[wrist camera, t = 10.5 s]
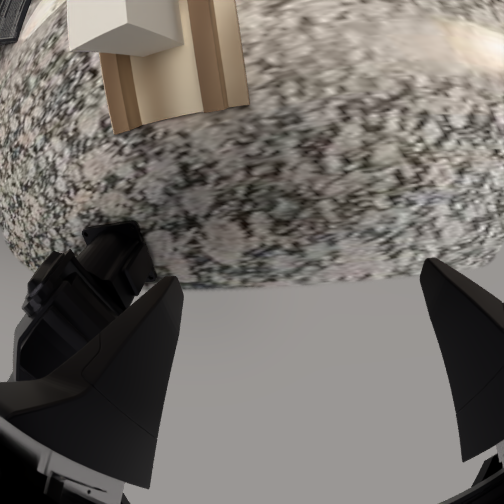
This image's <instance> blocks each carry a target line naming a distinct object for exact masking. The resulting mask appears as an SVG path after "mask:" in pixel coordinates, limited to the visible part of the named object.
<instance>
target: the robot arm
mask: <svg viewBox="0 0 504 504" xmlns="http://www.w3.org/2000/svg"><path fill="white" fill-rule="evenodd" d="M131 226H133V227H134V228H132V227H131ZM82 235H83V237H84V240H85V242H86V244H87V246H86V248H85V249H84V250H83V251H82V252H81V254H80V255H79V256H78V257H77V258H76V257H75V256H74V253H73V252H72V250H71V249H69V250H68V251H67V252H66V253H59V252H56V251H53V252H52V253H51V254H50V255H49V256H48V257H47V259H46V260H45V261H44V262H43V263H42V264H41V266H40V267H39V268H38V269H37V271H36V272H35V274H34V275H33V277H32V278H31V279H30V281H29V282H28V294H27V296H26V298H25V301H24V303H23V306H22V309H23V310H24V311H25V312H26V314H25V316H24V317H23V318H22V320H21V321H20V323H19V324H18V325H17V327H16V329H15V334H14V335H15V336H14V349H13V350H14V351H13V373H12V374H11V376H10V378H9V380H8V381H7V382H0V504H130V503H129V501H128V500H127V498H126V496H125V495H124V493H123V488H124V483H125V482H127V483H129V484H133V485H136V486H139V487H142V488H146V489H149V487H150V482H151V475H152V468H153V461H154V456H155V450H156V443H157V439H156V438H157V437H158V431H159V426H160V421H161V416H162V410H163V405H164V400H165V395H166V391H167V386H168V381H169V377H170V372H171V367H172V363H173V358H174V354H175V350H176V345H177V341H178V336H179V331H180V323H181V315H182V307H183V300H184V295H183V291H182V289H181V286H180V283H179V280H178V278H177V277H176V276H165V277H164V278H163V279H161V280H160V281H159V282H158V283H157V284H155V285H154V286H153V287H152V288H151V289H149V290H148V291H147V292H146V293H145V294H144V295H142V296H141V297H140V298H139V299H138V300H137V301H135V302H134V303H133V304H132V305H131V306H130V304H131V303H132V301H133V299H134V296H138V295H139V293H140V291H141V289H142V287H143V285H144V283H145V282H153V281H155V279H156V277H157V275H156V272H155V270H154V267H153V263H152V260H151V257H150V255H149V252H148V250H147V247H146V244H145V243H144V241H143V238H142V236H141V233H140V230H139V227H138V225H137V223H136V222H135V221H126V222H119V223H113V224H106V225H100V226H94V227H88V228H85V229H84V230H83V231H82ZM151 276H152V277H151ZM420 283H421V287H422V290H423V293H424V297H425V301H426V305H427V309H428V312H429V316H430V319H431V322H432V325H433V328H434V331H435V334H436V337H437V340H438V343H439V346H440V350H441V353H442V357H443V360H444V364H445V367H446V371H447V375H448V379H449V383H450V387H451V391H452V396H453V401H454V406H455V411H456V417H457V423H458V430H459V437H460V445H461V455H462V462H465V461H467V460H469V459H471V458H473V457H475V456H477V455H479V454H480V453H482V452H484V451H486V450H488V449H490V448H491V447H493V446H495V445H496V448H497V454H495V455H494V456H492V457H490V458H489V459H487V460H485V461H484V463H483V465H482V467H481V469H480V471H479V473H478V475H477V477H476V479H475V481H474V483H473V485H472V486H471V488H470V489H468V490H466V491H464V492H462V493H460V494H458V495H456V496H454V497H452V498H450V499H448V500H445V501H443V502H441V503H439V504H504V303H502V301H500V300H499V299H498V298H496V297H495V296H493V295H492V294H491V293H489V292H488V291H486V290H485V289H483V288H482V287H480V286H479V285H478V284H476V283H475V282H473V281H472V280H470V279H469V278H467V277H466V276H464V275H463V274H461V273H459V272H458V271H456V270H455V269H453V268H452V267H450V266H448V265H447V264H445V263H444V262H442V261H440V260H439V259H437V258H427V259H425V261H424V264H423V268H422V271H421V274H420Z"/></svg>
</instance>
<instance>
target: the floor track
mask: <svg viewBox="0 0 504 504" xmlns="http://www.w3.org/2000/svg"><path fill="white" fill-rule="evenodd" d="M179 6H180V14H181V21H182V29H183V36H184V43H185V45H182V46H178V47H174V48H171V49H167V50H164V51H160V52H157V53H154V54H151V55H148V56H145V57H140V56H132V55H123V54H113V53H100V52H99V57H100V64H101V71H102V77H103V83H104V89H105V94H106V100H107V105H108V110H109V114H110V119H111V124H112V128H113V132H114V134H115V135H116V134H119V133H122V132H126V131H129V130H132V129H134V128H136V127H139V126H141V125H145V124H148V123H152V122H156V121H160V120H164V119H168V118H173V117H177V116H182V115H187V114H192V113H197V112H203V111H204V113H207V112H213V111H219V110H225V109H226V108H228V107H235V106H242V105H249V104H250V101H249V94H248V86H247V79H246V71H245V64H244V57H243V50H242V43H241V36H240V29H239V23H238V16H237V9H236V3H235V0H179Z"/></svg>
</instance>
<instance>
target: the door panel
mask: <svg viewBox="0 0 504 504" xmlns="http://www.w3.org/2000/svg"><path fill="white" fill-rule="evenodd" d="M67 23H68V39H69V50H70V52H100V53H113V54H123V55H132V56H140V57H145V56H148V55H151V54H154V53H157V52H160V51H164V50H167V49H171V48H174V47H178V46H182V45H185V43H184V36H183V29H182V21H181V14H180V6H179V0H67Z"/></svg>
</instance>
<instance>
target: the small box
mask: <svg viewBox="0 0 504 504" xmlns="http://www.w3.org/2000/svg"><path fill="white" fill-rule="evenodd" d="M30 2H31V0H0V45H4V44H10V43H15V42H17V40H18V37H19V33H20V30H21V27H22V24H23V21H24V18H25V15H26V12H27V9H28V7H29V4H30Z"/></svg>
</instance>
